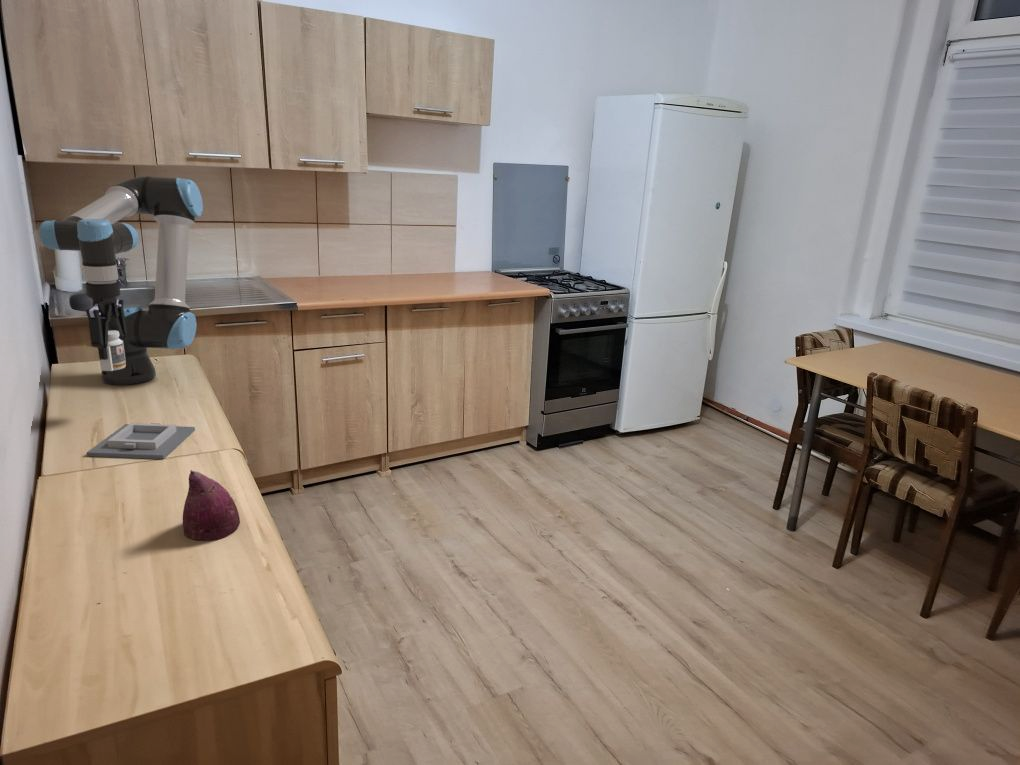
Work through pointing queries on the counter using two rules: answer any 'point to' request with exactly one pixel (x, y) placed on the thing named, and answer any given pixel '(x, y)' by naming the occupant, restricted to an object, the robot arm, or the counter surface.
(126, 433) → the socket
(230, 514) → the vegetable
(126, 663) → the counter surface
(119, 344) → the pill bottle
